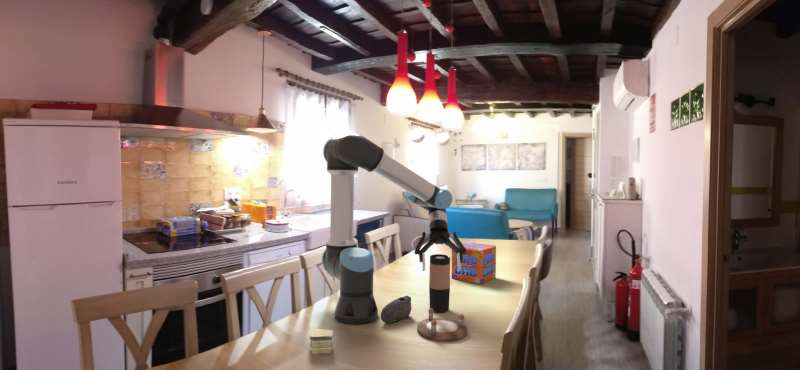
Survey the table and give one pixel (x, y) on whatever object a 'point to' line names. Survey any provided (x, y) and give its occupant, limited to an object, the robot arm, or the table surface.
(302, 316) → the table surface
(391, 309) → the perforated stone tool
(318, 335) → the beige layered block
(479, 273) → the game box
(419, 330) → the brown round pegged stand
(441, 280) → the travel mug
